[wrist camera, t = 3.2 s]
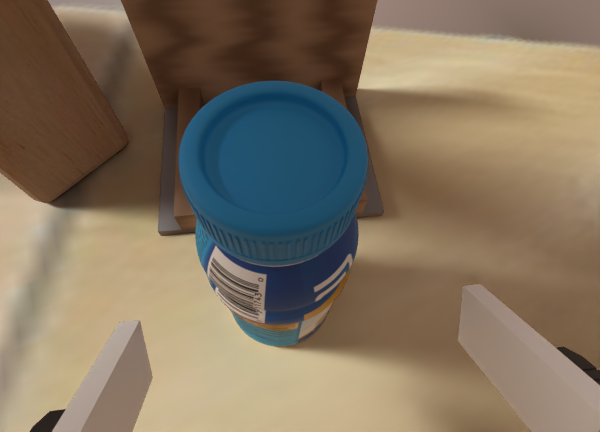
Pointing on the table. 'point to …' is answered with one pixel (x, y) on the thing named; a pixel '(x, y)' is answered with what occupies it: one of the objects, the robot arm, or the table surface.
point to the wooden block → (49, 105)
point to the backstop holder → (246, 67)
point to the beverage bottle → (275, 203)
